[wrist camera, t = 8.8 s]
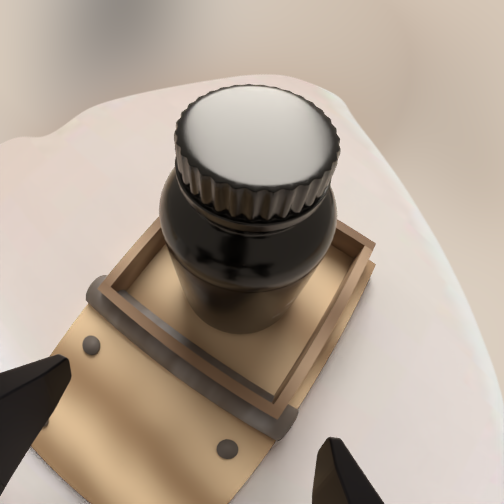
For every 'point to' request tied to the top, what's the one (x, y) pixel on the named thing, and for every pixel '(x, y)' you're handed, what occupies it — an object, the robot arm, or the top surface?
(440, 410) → the top surface
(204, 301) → the supplement bottle
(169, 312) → the hinge jig
